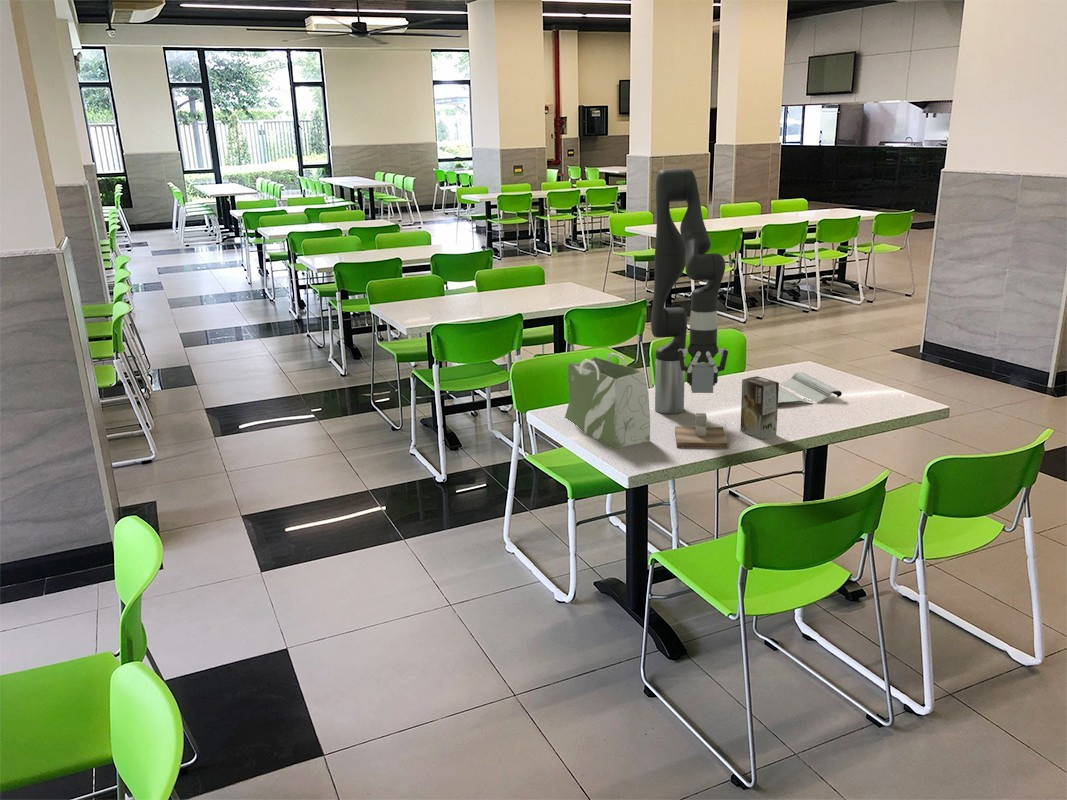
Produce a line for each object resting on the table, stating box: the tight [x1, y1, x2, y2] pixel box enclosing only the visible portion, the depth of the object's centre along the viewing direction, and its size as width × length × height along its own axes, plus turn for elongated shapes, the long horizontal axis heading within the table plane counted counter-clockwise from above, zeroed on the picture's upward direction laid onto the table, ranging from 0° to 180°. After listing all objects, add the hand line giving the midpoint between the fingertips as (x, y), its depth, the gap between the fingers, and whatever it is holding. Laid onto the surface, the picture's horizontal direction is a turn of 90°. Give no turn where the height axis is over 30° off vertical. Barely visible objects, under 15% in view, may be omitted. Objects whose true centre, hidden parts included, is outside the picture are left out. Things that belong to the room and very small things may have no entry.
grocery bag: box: [564, 352, 651, 450], centre depth 244 cm, size 32×14×23 cm, turn 24°
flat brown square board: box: [674, 412, 729, 449], centre depth 235 cm, size 14×14×8 cm
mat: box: [778, 371, 843, 405], centre depth 275 cm, size 23×24×5 cm
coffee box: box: [739, 375, 780, 440], centre depth 238 cm, size 9×6×16 cm
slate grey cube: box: [690, 362, 714, 394], centre depth 231 cm, size 6×6×7 cm
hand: (701, 384), depth 232 cm, fingers closed on slate grey cube, 5 cm apart
